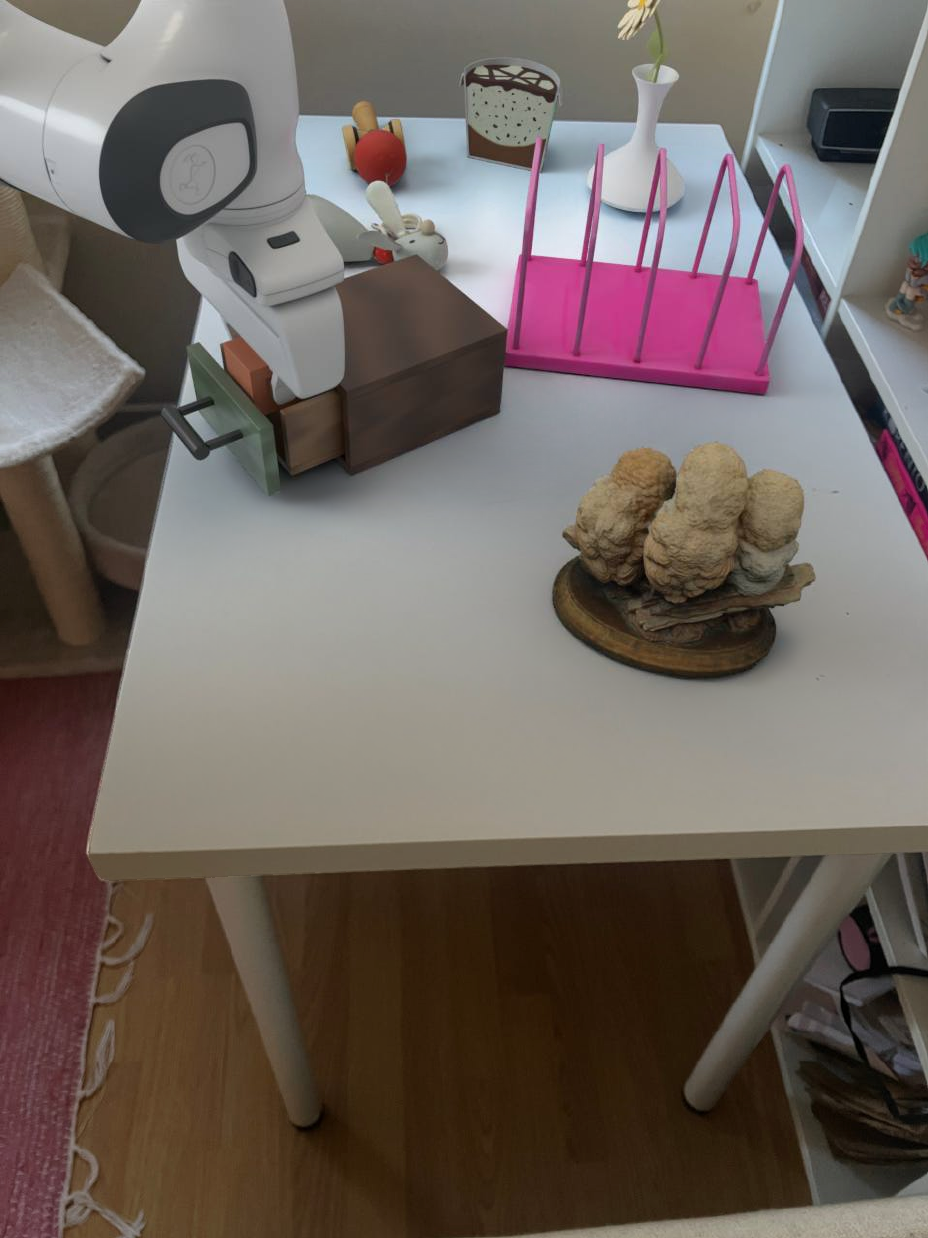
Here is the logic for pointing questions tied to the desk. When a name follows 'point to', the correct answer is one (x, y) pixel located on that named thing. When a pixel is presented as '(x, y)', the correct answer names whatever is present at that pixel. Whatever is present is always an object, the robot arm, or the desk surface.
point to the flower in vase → (642, 126)
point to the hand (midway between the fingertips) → (264, 378)
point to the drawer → (257, 424)
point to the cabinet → (413, 361)
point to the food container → (509, 109)
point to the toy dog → (381, 231)
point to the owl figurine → (683, 562)
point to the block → (251, 375)
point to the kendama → (375, 146)
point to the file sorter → (646, 303)
